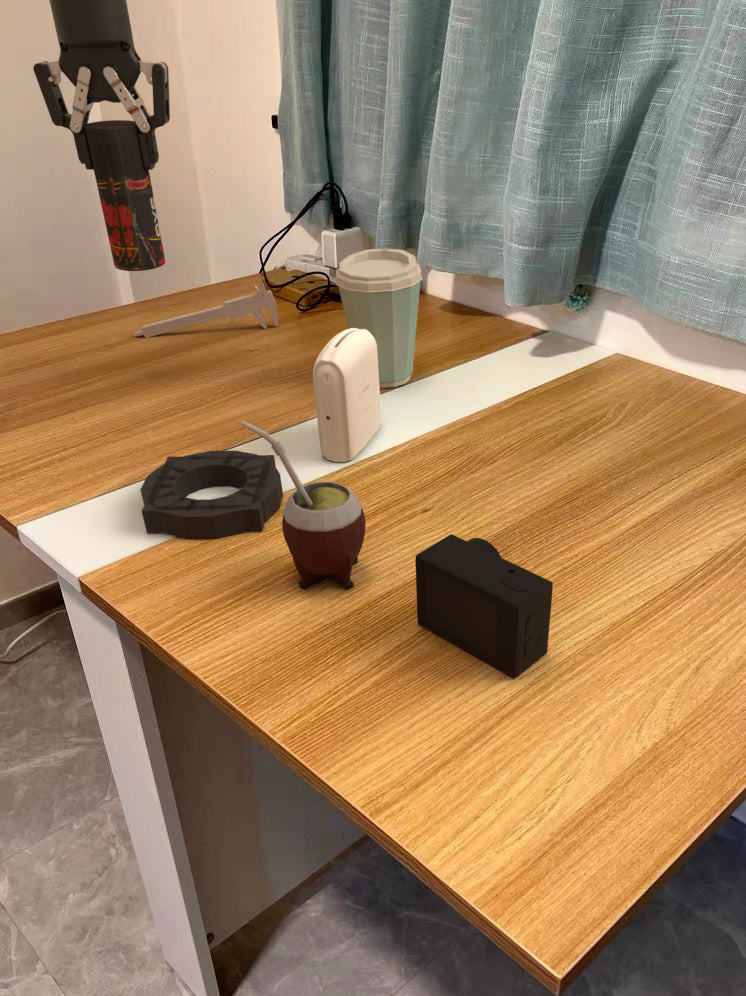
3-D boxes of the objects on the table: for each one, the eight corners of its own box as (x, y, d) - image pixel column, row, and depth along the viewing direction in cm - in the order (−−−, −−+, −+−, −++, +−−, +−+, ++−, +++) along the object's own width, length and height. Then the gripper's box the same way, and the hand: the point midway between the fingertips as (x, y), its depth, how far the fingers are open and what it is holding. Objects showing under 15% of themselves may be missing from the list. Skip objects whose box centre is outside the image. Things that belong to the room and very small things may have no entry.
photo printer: (352, 465, 95) (343, 354, 88) (315, 460, 96) (304, 350, 89) (386, 425, 103) (381, 320, 96) (352, 421, 104) (344, 316, 97)
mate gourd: (384, 574, 79) (375, 419, 70) (313, 611, 75) (294, 451, 66) (332, 541, 83) (318, 391, 74) (262, 575, 79) (238, 420, 70)
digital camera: (558, 646, 71) (564, 574, 67) (516, 680, 68) (520, 607, 63) (460, 595, 76) (461, 526, 72) (417, 624, 73) (415, 553, 69)
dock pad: (131, 540, 84) (125, 517, 82) (164, 472, 94) (159, 451, 93) (272, 537, 84) (269, 515, 82) (289, 470, 95) (286, 449, 93)
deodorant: (112, 259, 108) (82, 121, 99) (162, 255, 110) (137, 119, 101) (116, 273, 104) (85, 130, 95) (168, 268, 106) (142, 127, 97)
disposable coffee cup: (417, 398, 109) (413, 274, 100) (332, 393, 111) (321, 270, 102) (432, 365, 118) (429, 248, 109) (353, 361, 119) (344, 245, 110)
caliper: (278, 325, 130) (273, 282, 127) (279, 328, 130) (273, 284, 126) (135, 336, 127) (125, 291, 124) (134, 338, 126) (124, 294, 123)
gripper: (1, -10, 87) (46, 175, 98) (148, -9, 88) (178, 175, 98) (27, -13, 94) (67, 162, 104) (165, -13, 94) (191, 162, 104)
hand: (121, 167), depth 101 cm, fingers closed on deodorant, 6 cm apart
